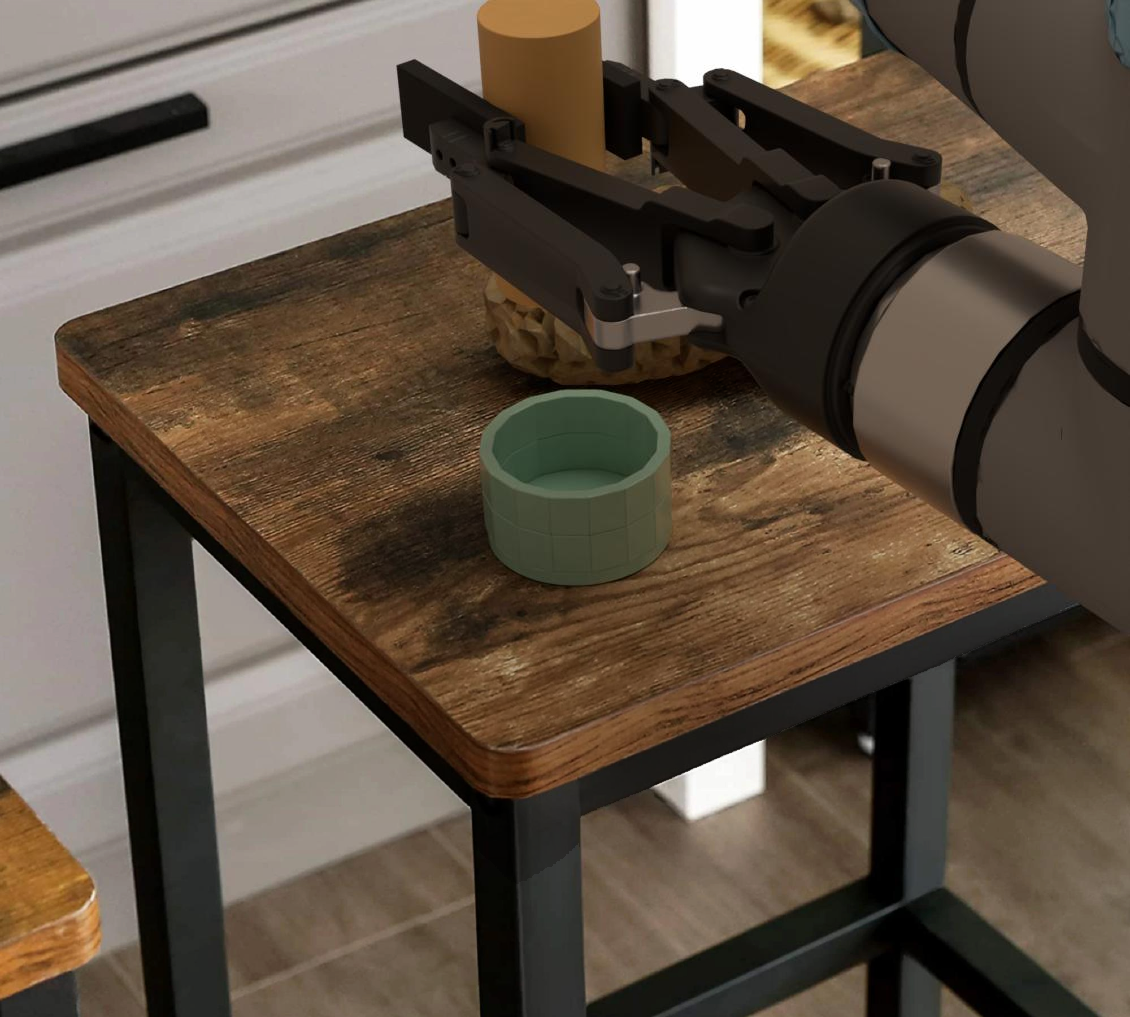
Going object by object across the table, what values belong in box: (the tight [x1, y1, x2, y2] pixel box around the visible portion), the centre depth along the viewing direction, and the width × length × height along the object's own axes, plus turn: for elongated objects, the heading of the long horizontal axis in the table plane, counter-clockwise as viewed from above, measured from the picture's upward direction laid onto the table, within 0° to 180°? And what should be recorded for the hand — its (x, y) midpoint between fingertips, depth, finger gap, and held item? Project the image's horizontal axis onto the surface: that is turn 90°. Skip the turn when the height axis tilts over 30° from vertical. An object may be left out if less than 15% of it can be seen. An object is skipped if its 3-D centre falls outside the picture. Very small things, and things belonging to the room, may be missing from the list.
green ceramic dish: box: [478, 389, 674, 587], centre depth 80 cm, size 7×7×4 cm
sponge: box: [482, 178, 974, 386], centre depth 90 cm, size 13×8×20 cm
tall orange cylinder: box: [476, 0, 608, 308], centre depth 73 cm, size 4×4×10 cm
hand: (466, 79), depth 75 cm, fingers closed on tall orange cylinder, 4 cm apart
